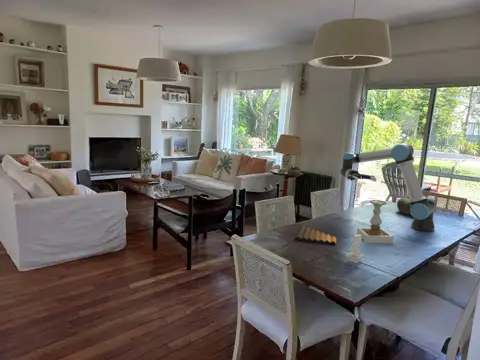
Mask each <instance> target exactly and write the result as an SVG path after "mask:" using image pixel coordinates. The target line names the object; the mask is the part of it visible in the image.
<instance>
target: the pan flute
mask: <svg viewBox="0 0 480 360" xmlns="http://www.w3.org/2000/svg"><path fill="white" fill-rule="evenodd" d="M298 229H299V230H298V231H297V233H296V235H295V238H294V239H295V241H296V240H298V241H297V242H300V241H301V242H303V241H304V242H303V243H306V242H307V243H313V244H319V245H327V246H329V245H330V246H336V244H337V237H336V236H335V235H333V236H332V235H330V234H329V233H327V234H326V233H324V231H323V232H320V231H319V230H315V229H314V228H312V229H311V228H310V227H308V226H307V227H305V225H301V226H300V227H299V228H298Z"/></svg>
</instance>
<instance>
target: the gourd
mask: <svg viewBox="0 0 480 360" xmlns="http://www.w3.org/2000/svg"><path fill="white" fill-rule="evenodd" d="M409 200H410V197H409V194H408V195H406V196H405V195H404V196H403V197H401V198H399V199H398V200H397V203H396V207H397V210H398V211H399V212H400V213H402V214H403V215H411V213H410V208H411V207H410V204H409Z"/></svg>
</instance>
